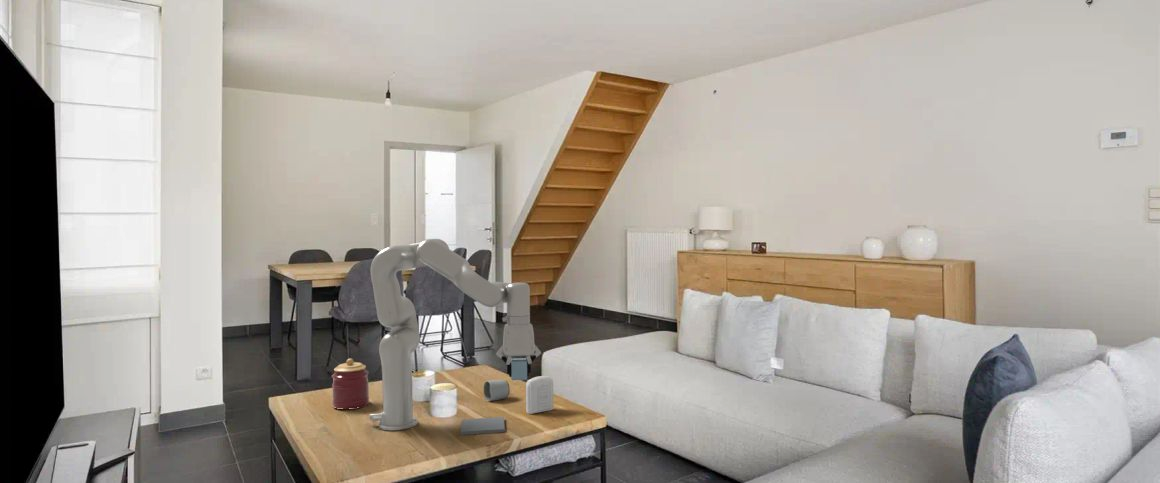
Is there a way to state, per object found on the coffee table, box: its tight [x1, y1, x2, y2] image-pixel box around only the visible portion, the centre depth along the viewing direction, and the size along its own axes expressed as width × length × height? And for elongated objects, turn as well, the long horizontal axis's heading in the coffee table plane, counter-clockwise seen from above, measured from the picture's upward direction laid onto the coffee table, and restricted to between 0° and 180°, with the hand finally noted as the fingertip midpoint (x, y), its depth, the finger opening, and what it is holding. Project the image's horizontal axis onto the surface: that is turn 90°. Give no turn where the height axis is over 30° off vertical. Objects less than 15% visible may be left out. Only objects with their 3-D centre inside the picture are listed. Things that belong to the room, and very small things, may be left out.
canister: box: [331, 358, 370, 409], centre depth 234 cm, size 13×13×18 cm
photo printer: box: [525, 375, 554, 415], centre depth 222 cm, size 10×4×12 cm, turn 123°
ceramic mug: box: [483, 379, 511, 402], centre depth 240 cm, size 11×8×8 cm
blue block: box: [510, 357, 528, 381], centre depth 205 cm, size 5×5×6 cm
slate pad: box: [459, 416, 506, 436], centre depth 206 cm, size 14×13×1 cm
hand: (518, 375), depth 205 cm, fingers closed on blue block, 5 cm apart
